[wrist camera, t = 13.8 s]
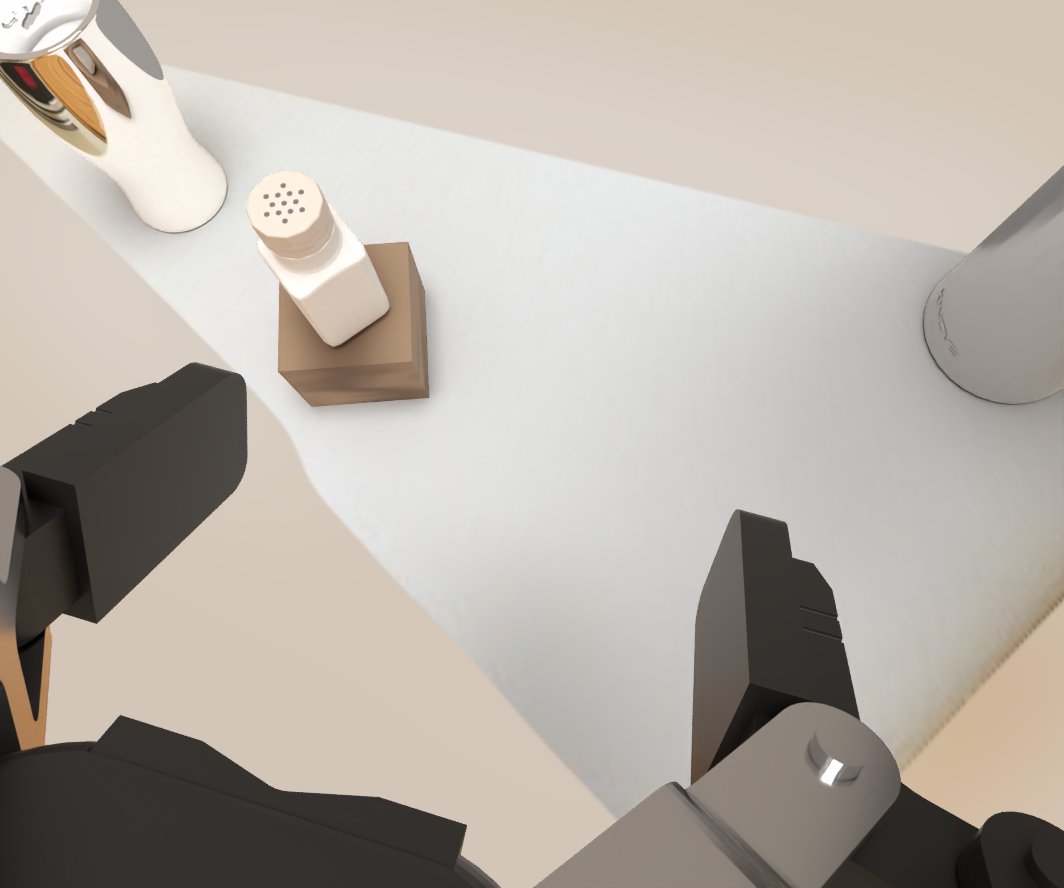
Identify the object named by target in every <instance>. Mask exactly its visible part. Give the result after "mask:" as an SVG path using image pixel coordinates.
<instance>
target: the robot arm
mask: <svg viewBox="0 0 1064 888" xmlns="http://www.w3.org/2000/svg"><path fill="white" fill-rule="evenodd" d="M924 330H925V338H926V340H927V343H928V346H929V349H930V352H931V354H932V355H933V357H934V359H935V360H936V362H937V364H938V365H939V367H940V368H941V369H942V370H943V371H944V372H945V373H946V374H947V375H948V377H949V378H950V379H952V380H953V381H954V382H955V383H957V384H958V385H959V386H961V387H962V388H963V389H965V390H967V391H969V392H971V393H973V394H974V395H976V396H978V397H981V398H984V399H987V400H991V401H994V402H999V403H1008V404H1020V403H1030V402H1034V401H1037V400H1040V399H1043V398H1046V397H1048V396H1050V395H1052V394H1054V393H1056V392H1058V391H1060V390H1062V389H1064V166H1063V167H1061V169H1060V170H1058V171H1057V172H1056V173H1055V174H1054V175H1053V176H1052V177H1051V178H1050V179H1049V180H1048V181H1047V182H1046V183H1044V184H1043V185H1042V186H1041V187H1040V188H1039V189H1038V190H1037V191H1036V192H1035V193H1034V194H1033V195H1032V196H1031V197H1030V198H1028V199H1027V200H1026V201H1025V202H1024V203H1023V204H1022V205H1021V206H1020V207H1019V208H1018V209H1017V210H1016V211H1015V212H1014V213H1012V214H1011V215H1010V216H1009V217H1008V218H1007V219H1006V220H1005V221H1004V222H1003V223H1002V224H1001V225H1000V226H999V227H998V228H996V229H995V230H994V231H993V232H992V233H991V234H990V235H989V236H988V237H987V238H986V239H985V240H984V241H983V242H982V243H980V244H979V245H978V246H977V247H976V248H975V249H974V250H973V251H972V252H971V253H970V254H969V255H968V256H967V257H966V258H964V259H963V260H962V261H961V262H960V263H959V264H958V265H957V266H956V267H955V268H954V269H953V270H952V271H951V272H950V273H948V274H947V275H946V276H945V277H944V278H943V279H942V280H941V281H940V282H939V283H938V284H937V286H936V287H935V288H934V290H933V291H932V293H931V294H930V297H929V299H928V302H927V304H926V307H925V314H924ZM246 464H247V392H246V384H245V381H244V378H243V377H242V376H241V375H240V374H238V373H234V372H230V371H226V370H223V369H219V368H215V367H212V366H208V365H204V364H200V363H195V362H194V363H190V364H188V365H186V366H185V367H183V368H182V369H180V370H178V371H177V372H175V373H174V374H172V375H171V376H169V377H167V378H166V379H164V380H163V381H161V382H159V383H152V384H148V385H145V386H142V387H138V388H135V389H132V390H128V391H126V392H122V393H120V394H118V395H117V396H115V397H113V398H112V399H110V400H108V401H107V402H105V403H103V404H102V405H100V406H99V407H97V408H96V411H95V412H92V411H90V412H89V413H87V414H86V415H84V416H82V417H81V418H79V419H77V420H76V422H75V424H74V425H72V424H69V425H68V426H66V427H64V428H63V429H61V430H60V431H58V432H56V433H55V434H53V435H51V436H50V437H48V438H46V439H45V440H43V441H41V442H40V443H38V444H37V445H35V446H33V447H32V448H30V449H28V450H27V451H25V452H24V453H22V454H20V455H19V456H17V457H15V458H14V459H12V460H10V461H9V462H7V463H6V464H4V465H2V466H0V888H501V887H500V886H499V885H498V884H497V883H496V882H495V881H494V880H493V879H492V878H490V877H489V876H488V875H487V874H485V873H484V872H483V871H482V870H481V869H480V868H479V867H477V866H476V865H474V864H473V863H472V862H470V861H469V860H467V859H466V858H464V857H463V856H461V855H460V854H461V849H462V845H463V841H464V836H465V832H466V827H467V825H465V824H462V823H459V822H456V821H453V820H449V819H446V818H443V817H440V816H436V815H433V814H430V813H427V812H424V811H421V810H418V809H415V808H411V807H408V806H405V805H402V804H398V803H396V802H392V801H389V800H386V799H383V798H380V797H368V796H367V797H366V796H352V795H336V794H320V793H303V792H288V791H281V790H278V789H275V788H273V787H271V786H269V785H268V784H266V783H265V782H263V781H262V780H260V779H259V778H257V777H256V776H254V775H253V774H251V773H249V772H248V771H247V770H245V769H244V768H242V767H241V766H239V765H238V764H236V763H235V762H233V761H232V760H230V759H228V758H227V757H226V756H224V755H223V754H221V753H220V752H218V751H216V750H215V749H214V748H212V747H211V746H209V745H208V744H206V743H204V742H203V741H200V740H197V739H194V738H191V737H188V736H184V735H181V734H178V733H175V732H172V731H169V730H166V729H163V728H159V727H156V726H153V725H150V724H147V723H144V722H140V721H137V720H134V719H131V718H128V717H124V716H121V715H120V716H119V717H118V718H117V719H116V720H115V722H114V723H113V724H112V725H111V726H110V727H109V728H108V730H107V731H106V732H105V733H104V734H103V735H102V737H101V738H100V739H99V740H98V741H97V742H93V741H89V742H88V741H87V742H67V743H59V744H52V745H45V732H46V718H47V704H48V690H49V676H50V662H51V647H52V636H51V631H50V626H49V625H50V624H51V623H52V622H53V621H54V620H55V619H57V618H58V617H59V616H60V615H61V614H62V613H63V614H67V615H70V616H73V617H76V618H80V619H83V620H86V621H89V622H93V623H96V624H97V623H98V622H99V621H100V620H101V619H102V618H103V617H104V616H105V615H106V614H107V613H108V612H110V611H111V610H112V609H113V608H114V607H115V606H116V605H117V604H118V603H119V602H120V601H121V600H122V599H123V598H124V597H125V596H126V595H127V594H128V593H129V592H130V591H131V590H132V589H133V588H134V587H136V585H138V584H139V583H140V582H141V581H142V580H143V579H144V578H145V577H146V576H147V575H148V574H149V573H150V572H151V571H152V570H153V569H154V568H155V567H156V566H157V565H158V564H159V563H160V562H162V560H164V559H165V558H166V557H167V556H168V555H169V554H170V553H171V552H172V551H173V550H174V549H175V548H176V547H177V546H178V545H179V544H180V543H181V542H182V541H183V540H184V539H185V538H186V537H187V536H189V535H190V534H191V532H193V530H195V529H196V528H197V527H198V526H199V525H200V524H201V523H202V522H203V521H204V520H205V519H206V518H207V517H208V516H209V515H210V514H211V513H212V512H213V511H214V510H215V509H217V508H218V506H220V505H221V504H222V502H224V501H225V500H226V499H227V498H228V497H229V496H230V495H231V494H232V493H233V492H234V491H235V489H236V488H237V486H238V485H239V483H240V481H241V479H242V477H243V475H244V472H245V468H246ZM837 617H838V614H837V610H836V605H835V600H834V596H833V591H832V589H831V587H830V586H829V585H828V583H827V582H826V580H825V579H824V578H823V576H822V575H821V573H820V572H819V571H818V569H817V568H816V566H815V565H814V564H813V563H809V562H806V561H802V560H798V559H795V558H792V553H791V546H790V540H789V533H788V527H787V524H786V522H783V521H780V520H776V519H772V518H769V517H765V516H761V515H757V514H754V513H750V512H746V511H743V510H739V509H737V510H735V512H734V513H733V515H732V517H731V519H730V521H729V523H728V526H727V528H726V531H725V533H724V536H723V538H722V541H721V544H720V546H719V549H718V551H717V554H716V556H715V559H714V561H713V564H712V566H711V569H710V572H709V574H708V577H707V579H706V582H705V584H704V587H703V590H702V593H701V597H700V601H699V605H698V610H697V616H696V624H695V655H694V689H693V722H692V756H691V786H690V787H689V788H687V789H685V790H684V789H683V788H682V787H681V786H680V785H679V784H678V783H677V782H670V783H668V784H666V785H664V786H662V787H661V788H659V789H658V790H656V791H655V792H654V793H652V794H651V795H650V796H649V797H647V798H646V799H645V800H644V801H642V802H641V803H640V804H639V805H637V806H636V807H635V808H634V809H632V810H631V811H630V812H628V813H627V814H626V815H625V816H623V817H622V818H621V819H620V820H618V821H617V822H616V823H615V824H613V825H612V826H611V827H610V828H608V829H607V830H606V831H605V832H603V833H602V834H601V835H599V836H598V837H597V838H596V839H594V840H593V841H592V842H591V843H589V844H588V845H587V846H586V847H584V848H583V849H582V850H580V851H579V852H578V853H577V854H575V855H574V856H573V857H572V858H570V859H569V860H568V861H566V862H565V863H564V864H563V865H561V866H560V867H559V868H558V869H556V870H555V871H554V872H553V873H551V874H550V875H549V876H548V877H546V878H545V879H544V880H543V881H541V882H540V883H539V884H537V885H536V886H535V887H534V888H1064V831H1063V830H1061V829H1060V828H1058V827H1056V826H1054V825H1052V824H1051V823H1049V822H1047V821H1045V820H1042V819H1040V818H1037V817H1035V816H1032V815H1028V814H1024V813H1018V812H1001V813H998V814H995V815H993V816H991V817H990V818H988V820H987V821H986V822H985V823H984V824H983V826H982V827H981V828H980V829H978V828H976V827H974V826H972V825H971V824H969V823H967V822H965V821H963V820H962V819H960V818H958V817H956V816H955V815H953V814H951V813H949V812H948V811H946V810H944V809H942V808H940V807H939V806H937V805H935V804H933V803H932V802H930V801H928V800H926V799H925V798H923V797H921V796H920V795H918V794H917V793H915V792H914V791H912V790H911V789H910V788H908V787H907V786H905V785H904V784H903V783H902V782H901V778H900V773H899V769H898V766H897V764H896V761H895V759H894V757H893V756H892V754H891V752H890V750H889V749H888V748H887V746H886V745H885V744H884V742H883V741H882V740H881V739H880V738H879V737H878V736H877V735H876V734H875V733H874V732H873V731H872V730H871V729H870V728H869V727H867V726H866V725H865V724H864V723H862V722H861V721H860V718H859V713H858V708H857V704H856V699H855V694H854V689H853V685H852V680H851V675H850V671H849V666H848V661H847V657H846V652H845V647H844V643H841V641H842V633H841V628H840V624H839V621H837Z"/></svg>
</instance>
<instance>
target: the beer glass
mask: <svg viewBox="0 0 1064 888" xmlns="http://www.w3.org/2000/svg"><path fill="white" fill-rule="evenodd" d="M0 80H1V81H2V82H3V84H4V85H5V86H6V87H7V88H8V90H9V91H10V92H11V93H12V94H13V95H14V96H15V97H16V99H17V100H18V101H19V102H20V103H21V104H22V105H23V106H24V107H25V108H26V109H27V110H28V111H29V112H30V113H31V114H32V115H33V116H34V117H35V118H36V119H37V120H38V121H39V122H40V123H41V124H42V125H43V126H44V127H45V128H46V129H47V130H49V131H50V132H51V133H52V134H54V135H55V136H56V137H57V138H59V139H60V140H61V141H62V142H63V143H65V144H66V145H67V146H69V147H70V148H71V149H73V150H74V151H76V152H77V153H78V154H80V155H81V156H82V157H84V158H85V159H87V160H88V161H89V162H91V163H92V164H94V165H95V166H96V167H98V168H99V169H101V170H102V171H103V172H105V173H106V174H107V175H109V176H110V177H111V178H112V179H113V180H114V181H115V182H116V183H117V184H118V185H119V186H120V187H121V188H122V189H123V191H124V192H125V194H126V196H127V198H128V199H129V201H130V203H131V205H132V207H133V208H134V210H135V212H136V213H137V214H138V216H139V217H140V218H141V219H142V220H143V221H144V222H145V223H146V224H148V225H149V226H151V227H153V228H155V229H157V230H160V231H164V232H173V233H175V232H184V231H189V230H192V229H195V228H197V227H199V226H201V225H203V224H204V223H206V222H207V221H209V220H210V219H211V218H212V217H213V216H214V215H215V214H216V213H217V212H218V210H219V209H220V207H221V206H222V204H223V202H224V199H225V196H226V191H227V181H226V177H225V174H224V171H223V169H222V167H221V166H220V165H219V163H218V162H217V161H216V160H215V159H214V158H213V157H212V156H211V155H210V154H209V153H208V152H207V151H206V150H205V149H204V148H203V147H202V146H200V145H199V144H198V142H197V141H196V140H195V139H194V138H193V136H192V135H191V133H190V131H189V130H188V128H187V126H186V123H185V121H184V119H183V117H182V114H181V112H180V109H179V107H178V104H177V102H176V99H175V97H174V94H173V92H172V90H171V87H170V85H169V82H168V80H167V78H166V76H165V74H164V72H163V69H162V67H161V65H160V63H159V61H158V59H157V57H156V55H155V54H154V52H153V51H152V49H151V47H150V46H149V44H148V42H147V41H146V39H145V37H144V36H143V34H142V33H141V31H140V30H139V29H138V27H137V26H136V24H135V23H134V21H133V20H132V19H131V17H130V16H129V14H128V13H127V12H126V10H125V9H124V8H123V6H122V5H121V4H120V2H119V1H118V0H0Z"/></svg>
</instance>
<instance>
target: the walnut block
mask: <svg viewBox="0 0 1064 888" xmlns="http://www.w3.org/2000/svg"><path fill="white" fill-rule="evenodd" d="M364 247H365V249H366V252H367V254H368V256H369V258H370V260H371V263H372V265H373V267H374V269H375V271H376V274H377V276H378V278H379V280H380V282H381V285H382V287H383V289H384V291H385V294H386V296H387V298H388V302H389V309H388V311H387V312H386V313H385V314H384V315H383V316H381V317H380V318H379V319H377V320H376V321H374V322H373V323H371V324H370V325H368V326H367V327H365V328H364V329H363V330H361V331H360V332H358V333H357V334H355V335H354V336H352V337H351V338H350V339H348V340H347V341H345V342H344V343H342V344H341V345H338V346H335V347H333V346H331V345H329V344H327V343H325V342H324V341H323V340H322V338H321V337H320V336H319V334H318V333H317V332H316V330H315V329H314V328H313V326H312V325H311V324H310V322H309V321H308V320H307V318H306V317H305V316H304V314H303V313H302V312H301V310H300V309H299V308H298V306H297V305H296V304H295V302H294V301H293V300H292V298H291V297H290V295H289V294H288V293H287V291H286V290H285V288H284V287H283V286H282V284H281V283H280V282H279V343H278V372H279V373H280V374H281V375H282V376H283V377H284V378H285V379H286V380H287V381H288V382H289V384H290V385H291V386H292V387H293V388H294V389H295V390H296V391H297V392H298V393H299V394H300V395H301V396H302V397H303V398H304V399H305V400H306V401H307V402H308V403H309V404H310V405H311V406H312V407H314V406H327V405H340V404H353V403H366V402H379V401H392V400H405V399H418V398H429V385H428V361H427V336H426V311H425V290H424V287H423V285H422V282H421V279H420V276H419V273H418V270H417V267H416V264H415V261H414V258H413V255H412V252H411V249H410V246H409V243H408V242H398V243H385V244H371V245H364Z"/></svg>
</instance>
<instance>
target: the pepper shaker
mask: <svg viewBox="0 0 1064 888" xmlns="http://www.w3.org/2000/svg"><path fill="white" fill-rule="evenodd" d="M246 211H247V214H248V217H249V219H250V222H251V225H252V227H253V228H254V230H255V231H256V233H257V234H258V235H259V237H260V238H259V240H258V242H257V249H258V253H259V254H260V255H261V257H262V258H263V259H264V261H265V262H266V264H267V265H268V266H269V268H270V269H271V270H272V272H273V273H274V275H275V276H276V277H277V279H278V280H279V282H280V283H281V284H282V286H283V287H284V288H285V290H286V291H287V293H288V294H289V295H290V297H291V298H292V300H293V301H294V302H295V304H296V305H297V306H298V308H299V309H300V310H301V312H302V313H303V314H304V316H305V317H306V318H307V320H308V321H309V322H310V324H311V325H312V326H313V328H314V329H315V330H316V332H317V333H318V334H319V336H320V337H321V338H322V340H323V341H324V342H325V343H327V344H329V345H331V346H333V347H335V346H338V345H341V344H342V343H344V342H345V341H347V340H348V339H350V338H351V337H352V336H354V335H355V334H357V333H358V332H360V331H361V330H363V329H364V328H365V327H367V326H368V325H370V324H371V323H373V322H374V321H376V320H377V319H379V318H380V317H381V316H383V315H384V314H385V313H386V312H387V311H388V309H389V302H388V298H387V296H386V294H385V291H384V289H383V287H382V285H381V282H380V280H379V278H378V276H377V274H376V271H375V269H374V267H373V265H372V263H371V260H370V258H369V256H368V254H367V252H366V249H365V247H364V245H363V244H362V243H361V241H360V240H359V239H358V237H357V236H356V235H355V233H354V232H353V231H352V230H351V228H350V227H349V226H348V224H347V223H346V222H345V221H344V219H343V218H342V217H341V216H340V214H339V213H338V212H337V211H336V210H335V209H334V208H333V206H332V205H331V204H330V203H328V202H326V200H325V198H324V196H323V194H322V192H321V190H320V188H319V186H318V184H317V183H316V182H315V181H313V180H312V179H311V178H309V177H308V176H306V175H305V174H303V173H301V172H291V171H280V172H278V173H275V174H272V175H269V176H267V177H264V178H263V179H262V180H261V181H260V182H259V183H258V184H257V185H256V186H255V187H254V188H253V189H252V190H251V191H250V195H249V199H248V203H247V207H246Z"/></svg>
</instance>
